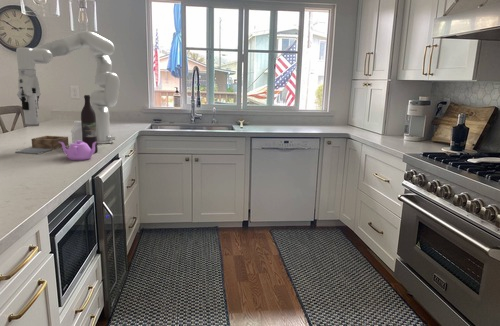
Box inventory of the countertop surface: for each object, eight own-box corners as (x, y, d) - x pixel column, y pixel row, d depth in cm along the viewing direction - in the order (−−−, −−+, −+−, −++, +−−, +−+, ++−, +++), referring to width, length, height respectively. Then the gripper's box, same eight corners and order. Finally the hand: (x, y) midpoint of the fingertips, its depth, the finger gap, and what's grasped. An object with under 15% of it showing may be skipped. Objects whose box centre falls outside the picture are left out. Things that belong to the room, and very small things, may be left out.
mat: (52, 150, 196) (52, 148, 195) (37, 154, 184) (37, 153, 184) (31, 148, 197) (31, 147, 196) (15, 152, 185) (15, 151, 185)
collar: (68, 145, 211) (68, 136, 210) (54, 149, 198) (53, 140, 197) (47, 144, 212) (46, 135, 211) (32, 147, 199) (31, 138, 198)
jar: (70, 149, 198) (68, 122, 195) (75, 146, 208) (73, 120, 204) (93, 149, 201) (91, 122, 198) (96, 146, 210) (95, 120, 207)
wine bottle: (81, 153, 189) (77, 95, 182) (85, 151, 195) (81, 94, 189) (95, 153, 190) (92, 95, 183) (99, 151, 196) (96, 95, 190)
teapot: (98, 158, 180) (98, 140, 178) (70, 162, 169) (69, 143, 167) (87, 154, 187) (86, 137, 185) (59, 158, 177) (58, 140, 175)
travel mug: (22, 125, 187) (18, 85, 182) (36, 124, 192) (33, 86, 187) (26, 126, 183) (22, 86, 178) (41, 126, 188) (37, 86, 183)
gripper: (21, 73, 173) (25, 110, 177) (45, 74, 190) (48, 108, 194) (7, 72, 174) (11, 110, 177) (32, 73, 190) (35, 108, 194)
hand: (30, 109), depth 185 cm, fingers closed on travel mug, 6 cm apart
